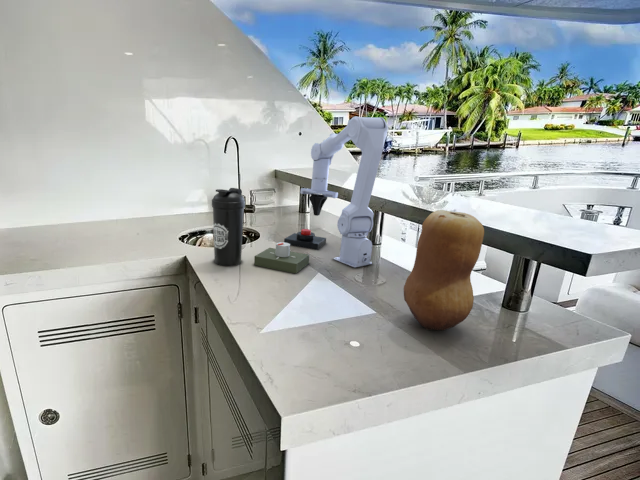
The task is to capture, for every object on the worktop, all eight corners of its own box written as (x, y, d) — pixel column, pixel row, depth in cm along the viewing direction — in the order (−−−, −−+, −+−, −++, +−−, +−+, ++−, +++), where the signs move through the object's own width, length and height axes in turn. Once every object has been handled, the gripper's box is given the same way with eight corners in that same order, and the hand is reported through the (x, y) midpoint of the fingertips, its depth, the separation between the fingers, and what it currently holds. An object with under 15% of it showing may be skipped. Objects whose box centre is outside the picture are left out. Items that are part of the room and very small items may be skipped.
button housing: (325, 243, 144) (326, 233, 143) (317, 249, 136) (318, 239, 134) (293, 238, 150) (294, 228, 149) (283, 244, 142) (284, 233, 140)
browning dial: (282, 252, 122) (282, 240, 121) (292, 255, 119) (293, 243, 117) (272, 254, 119) (273, 242, 118) (282, 258, 116) (283, 245, 115)
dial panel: (308, 263, 121) (309, 254, 120) (296, 273, 112) (296, 263, 111) (269, 256, 128) (269, 247, 127) (254, 265, 119) (254, 255, 118)
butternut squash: (480, 337, 79) (512, 219, 70) (424, 343, 76) (450, 220, 68) (435, 308, 91) (457, 205, 83) (385, 312, 89) (402, 206, 80)
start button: (312, 234, 142) (312, 229, 142) (308, 236, 139) (309, 231, 139) (302, 232, 144) (303, 228, 143) (299, 234, 141) (299, 230, 140)
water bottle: (205, 261, 121) (204, 188, 113) (227, 254, 128) (228, 185, 120) (227, 269, 114) (228, 192, 107) (250, 261, 122) (252, 189, 114)
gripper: (297, 177, 139) (294, 213, 144) (332, 181, 130) (328, 219, 135) (307, 175, 144) (304, 211, 149) (342, 179, 135) (338, 216, 140)
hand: (316, 215), depth 142 cm, fingers closed
